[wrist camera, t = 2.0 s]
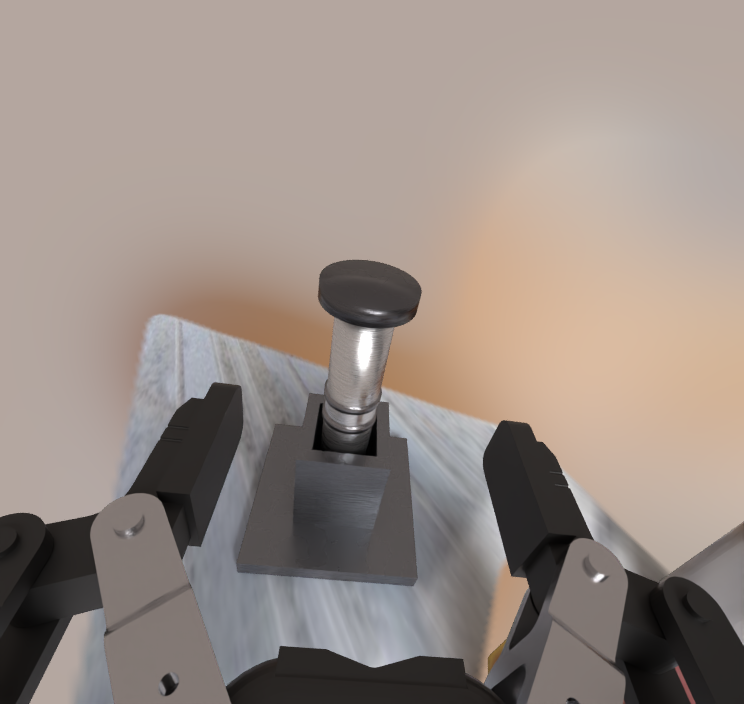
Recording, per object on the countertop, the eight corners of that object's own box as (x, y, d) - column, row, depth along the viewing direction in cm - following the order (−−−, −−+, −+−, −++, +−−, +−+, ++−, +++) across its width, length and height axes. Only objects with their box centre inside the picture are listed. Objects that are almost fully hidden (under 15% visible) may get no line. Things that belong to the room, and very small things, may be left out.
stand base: (403, 447, 42) (425, 380, 36) (413, 586, 31) (446, 521, 25) (275, 433, 41) (275, 361, 35) (237, 571, 30) (228, 501, 24)
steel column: (369, 465, 38) (417, 267, 25) (368, 523, 33) (426, 316, 20) (308, 458, 37) (325, 254, 25) (298, 517, 32) (312, 300, 20)
